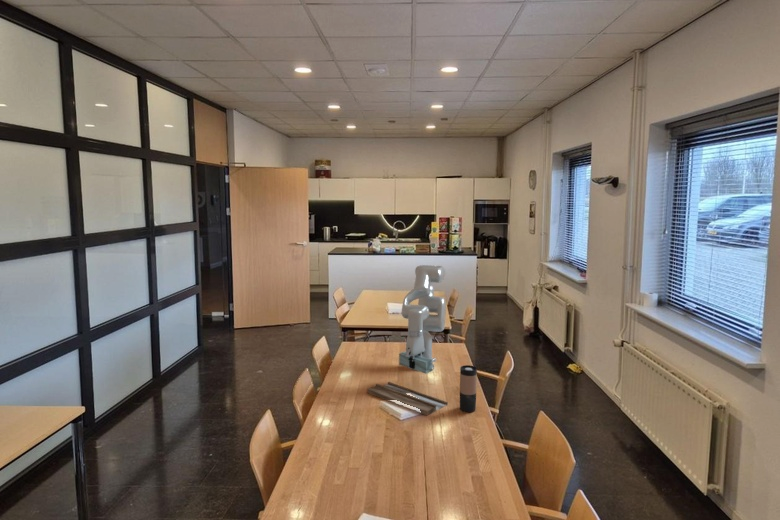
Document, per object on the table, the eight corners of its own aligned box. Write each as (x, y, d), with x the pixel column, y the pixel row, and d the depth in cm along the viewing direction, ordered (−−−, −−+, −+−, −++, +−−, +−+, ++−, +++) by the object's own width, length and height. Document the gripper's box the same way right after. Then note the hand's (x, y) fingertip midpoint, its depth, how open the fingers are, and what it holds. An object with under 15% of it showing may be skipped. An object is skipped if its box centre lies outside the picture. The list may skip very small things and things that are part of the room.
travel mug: (477, 407, 224) (478, 366, 222) (473, 414, 217) (474, 371, 215) (462, 404, 227) (462, 364, 225) (457, 411, 221) (458, 369, 218)
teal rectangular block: (405, 361, 256) (405, 351, 255) (432, 370, 244) (432, 359, 243) (399, 364, 253) (399, 353, 252) (426, 373, 241) (426, 362, 240)
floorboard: (388, 383, 253) (388, 378, 253) (447, 404, 228) (447, 399, 227) (367, 392, 241) (367, 387, 241) (426, 415, 216) (426, 409, 216)
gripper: (420, 327, 254) (420, 360, 257) (399, 335, 242) (399, 369, 245) (431, 330, 249) (431, 363, 252) (410, 338, 237) (410, 373, 240)
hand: (415, 366), depth 248 cm, fingers closed on teal rectangular block, 5 cm apart
